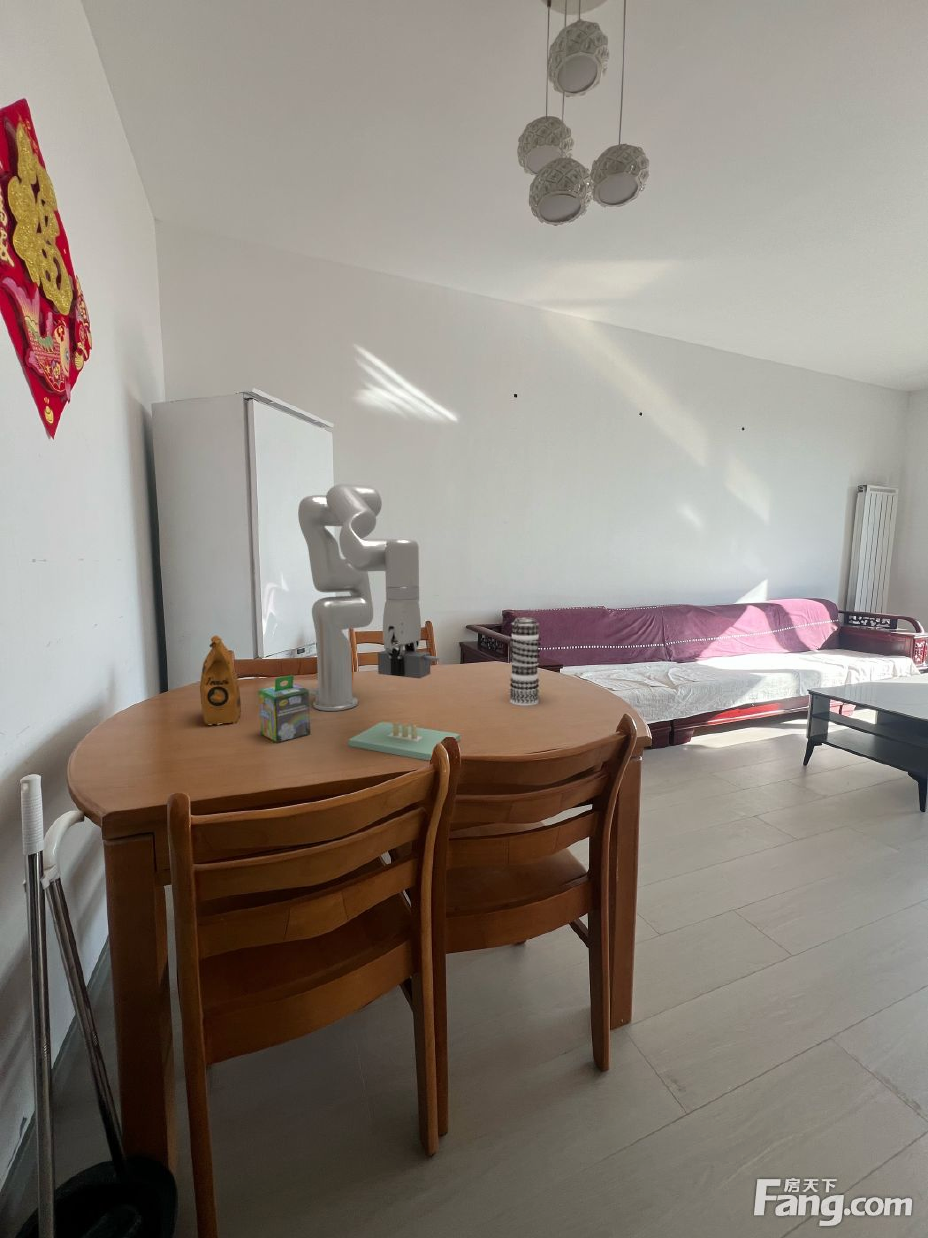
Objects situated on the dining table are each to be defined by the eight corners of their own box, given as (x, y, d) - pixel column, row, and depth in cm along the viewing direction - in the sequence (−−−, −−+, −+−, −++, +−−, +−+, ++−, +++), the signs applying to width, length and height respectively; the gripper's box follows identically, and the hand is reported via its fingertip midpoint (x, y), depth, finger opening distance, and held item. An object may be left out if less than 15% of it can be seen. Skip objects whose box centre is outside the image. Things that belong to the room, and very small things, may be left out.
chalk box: (294, 725, 140) (291, 669, 138) (311, 734, 133) (309, 675, 131) (259, 734, 134) (256, 675, 131) (276, 744, 127) (273, 682, 125)
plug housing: (378, 674, 125) (377, 652, 124) (389, 669, 130) (389, 649, 129) (433, 680, 119) (433, 657, 118) (443, 675, 124) (443, 653, 123)
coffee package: (198, 728, 138) (192, 643, 135) (203, 714, 149) (198, 635, 146) (240, 724, 141) (235, 641, 138) (242, 710, 153) (238, 633, 150)
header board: (348, 745, 126) (348, 727, 125) (382, 727, 138) (381, 710, 138) (432, 761, 117) (432, 741, 116) (459, 740, 129) (459, 722, 129)
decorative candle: (541, 706, 156) (543, 620, 153) (509, 706, 157) (510, 620, 153) (537, 697, 166) (539, 616, 162) (507, 697, 166) (508, 616, 162)
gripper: (407, 591, 132) (408, 664, 134) (367, 597, 117) (369, 679, 119) (434, 592, 129) (435, 666, 131) (397, 598, 113) (398, 683, 116)
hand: (404, 672), depth 125 cm, fingers closed on plug housing, 5 cm apart
